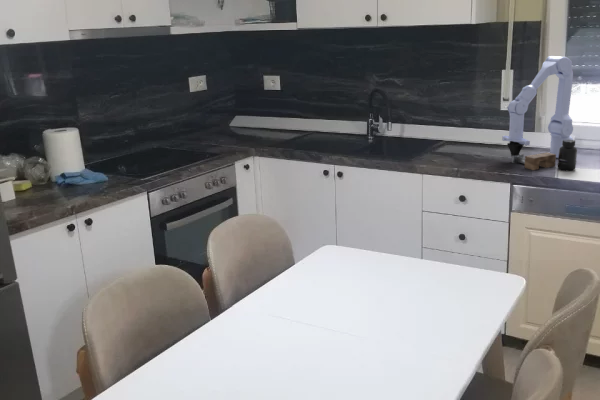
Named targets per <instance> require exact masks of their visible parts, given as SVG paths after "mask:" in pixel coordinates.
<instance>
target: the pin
mask: <svg viewBox="0 0 600 400" xmlns="http://www.w3.org/2000/svg"><path fill="white" fill-rule="evenodd" d="M511 163H512V164H515V163H520V164H523V165H525V154H524V153H519V154H518V155H512V156H511Z"/></svg>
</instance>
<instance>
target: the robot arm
mask: <svg viewBox="0 0 600 400" xmlns="http://www.w3.org/2000/svg"><path fill="white" fill-rule="evenodd" d="M541 65H542V66H541V68H540V70H539V71H538V72H537V74H536V75H535V76H534V79H532V81H531V83H530V84H529V85H525V86H523V87H522V88H521V91H520V92H519V94H518V95H517V96H516V97H515V98H514V99H513V100H511V101H510V102H509V103H508V106H507V108H506V109H507V111H508V113H509V129H508V130H509V131H508V135H502V139H501V140H502V141H503V142H505V141H506V142H508V143H507V145H506V146H507V147H508V148H509V149H508V150H509V152H510V155H511V157H512V155H518V154H521V150H522V148H523V147H524V146H530V145H531V144H530V143H531V141H530V140H528V139H526V138H524V122H525V113H526V112H527V111H528V109H529V105H530V103H531V102H532V101H533V99H534V98H535V97H536V95H537V93H538V92H537V91H538V88H540V87H541V85H542V84H543V83H544V82H545V81H546V80H547V79H548V78H549V77H550V76H553V75H555V76H556V77H557V78H558V85H557V92H556V93H557V94H556V102H555V109H554V110H555V111H554V114H553V115H552V116H551V117H550V122H549V123H548V126H547V130H548V132H549V133H550V134H549V135H550V147H549V149H550V150H549V153H552V154H556V159H558V157H559V149H560V147H562V146H563V145H562V142H563V140H574V138H573V137H572V133H573V131H574V125H573V119H572V118H571V117H570V115H569V112H570V105H571V97H572V87H573V79H574V71H573V67H572V66H573V61H572V60H571V59H570V58H569V57H567V56H555V55H549V56H547V57H546V59H545V61H543V63H542V64H541Z"/></svg>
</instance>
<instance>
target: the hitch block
mask: <svg viewBox="0 0 600 400" xmlns="http://www.w3.org/2000/svg"><path fill="white" fill-rule="evenodd" d="M524 158H525V164H524V168H525V169H528V170H530V171H531V170H532V171H535V170H536V171H537V170H539V169H540V167H542V168H547V169H548V168H551V167H552V168H553V167H556V159H557V158H556V154H552V153H550V152H542V153H541V152H540V153H537V154H530V155H524Z"/></svg>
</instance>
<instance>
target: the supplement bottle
mask: <svg viewBox="0 0 600 400" xmlns="http://www.w3.org/2000/svg"><path fill="white" fill-rule="evenodd" d="M562 145H563V146H562V147H560V149H559V157H558V158H557V169H558V170H559V171H563V172H573V171H575V170H576V165H577V156H578V149H577V147H576V140H574V139H573V140H563V142H562Z"/></svg>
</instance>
